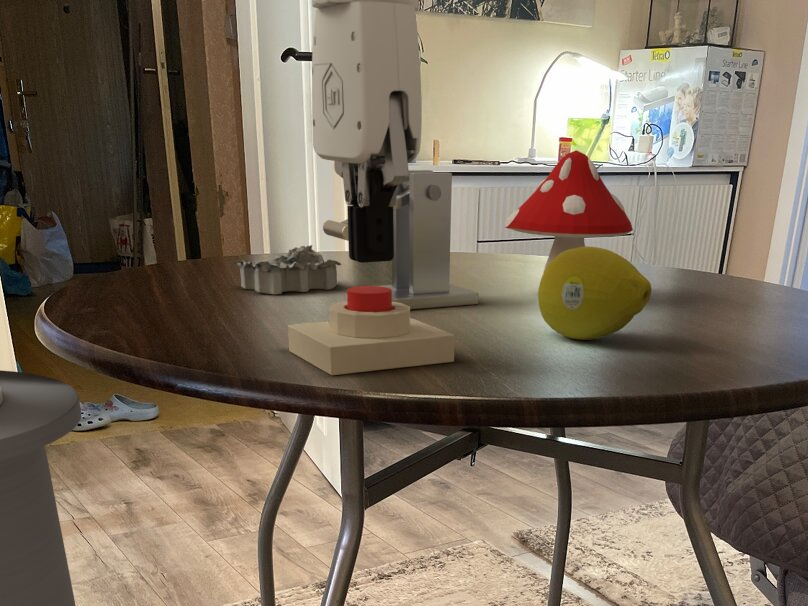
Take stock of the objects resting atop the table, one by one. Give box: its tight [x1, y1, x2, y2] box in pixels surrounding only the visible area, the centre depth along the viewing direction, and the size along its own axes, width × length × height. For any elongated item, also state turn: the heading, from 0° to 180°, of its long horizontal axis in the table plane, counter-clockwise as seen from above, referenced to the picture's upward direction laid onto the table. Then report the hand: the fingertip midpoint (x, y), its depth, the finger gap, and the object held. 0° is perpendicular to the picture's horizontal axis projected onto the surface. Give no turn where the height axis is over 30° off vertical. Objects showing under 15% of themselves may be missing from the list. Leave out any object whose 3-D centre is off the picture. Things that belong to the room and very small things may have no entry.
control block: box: [287, 300, 456, 376], centre depth 75 cm, size 11×9×4 cm
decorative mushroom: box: [504, 149, 634, 274], centre depth 101 cm, size 14×14×15 cm
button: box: [346, 285, 392, 312], centre depth 74 cm, size 4×4×2 cm
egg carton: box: [233, 244, 342, 295], centre depth 104 cm, size 11×8×4 cm
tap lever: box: [322, 180, 410, 242], centre depth 93 cm, size 12×5×2 cm, turn 120°
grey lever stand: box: [379, 169, 480, 311], centre depth 96 cm, size 10×8×13 cm
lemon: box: [537, 245, 652, 341], centre depth 82 cm, size 11×8×8 cm
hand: (371, 259), depth 72 cm, fingers closed
